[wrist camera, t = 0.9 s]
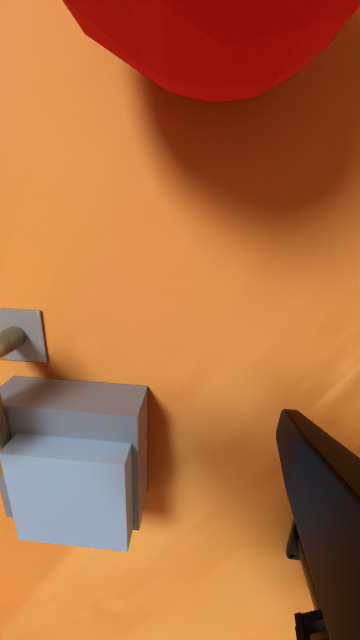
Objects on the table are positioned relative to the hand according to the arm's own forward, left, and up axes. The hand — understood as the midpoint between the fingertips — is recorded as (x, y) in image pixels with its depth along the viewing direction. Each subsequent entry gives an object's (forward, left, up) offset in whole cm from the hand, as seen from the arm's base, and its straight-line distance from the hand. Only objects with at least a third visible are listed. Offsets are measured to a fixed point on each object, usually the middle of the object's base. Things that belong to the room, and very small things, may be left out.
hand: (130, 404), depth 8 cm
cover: (-15, +7, -9) cm, 19 cm away
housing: (-11, +9, -13) cm, 19 cm away
